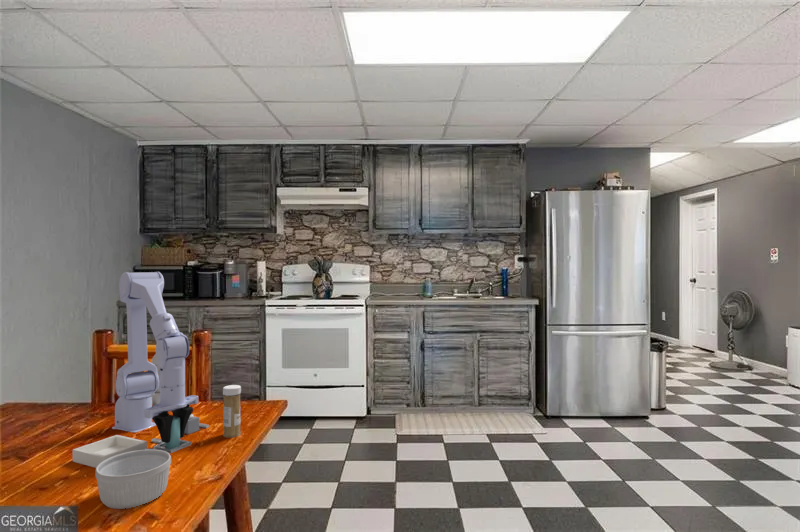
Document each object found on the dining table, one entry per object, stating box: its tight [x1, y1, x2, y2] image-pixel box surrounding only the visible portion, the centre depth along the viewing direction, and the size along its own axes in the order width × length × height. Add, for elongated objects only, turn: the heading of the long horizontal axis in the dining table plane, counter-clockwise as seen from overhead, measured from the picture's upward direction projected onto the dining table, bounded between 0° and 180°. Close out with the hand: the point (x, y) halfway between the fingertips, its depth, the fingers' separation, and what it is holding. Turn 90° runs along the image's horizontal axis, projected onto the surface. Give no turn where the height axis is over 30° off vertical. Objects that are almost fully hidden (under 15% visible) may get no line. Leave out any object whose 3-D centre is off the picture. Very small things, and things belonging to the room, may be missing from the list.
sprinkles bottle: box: [222, 384, 242, 439], centre depth 132 cm, size 5×5×14 cm
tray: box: [72, 434, 148, 469], centre depth 118 cm, size 11×11×3 cm
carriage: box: [184, 413, 200, 435], centre depth 135 cm, size 4×4×4 cm
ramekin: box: [94, 448, 172, 510], centre depth 98 cm, size 13×13×7 cm
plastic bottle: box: [151, 353, 160, 406], centre depth 160 cm, size 6×7×20 cm
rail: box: [151, 422, 210, 444], centre depth 132 cm, size 5×15×1 cm, turn 155°
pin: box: [164, 417, 181, 449], centre depth 123 cm, size 3×3×8 cm
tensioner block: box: [142, 439, 193, 454], centre depth 120 cm, size 6×14×2 cm, turn 155°
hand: (172, 439), depth 123 cm, fingers open, 3 cm apart
